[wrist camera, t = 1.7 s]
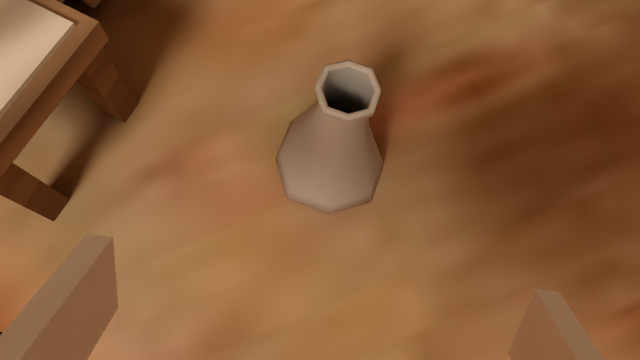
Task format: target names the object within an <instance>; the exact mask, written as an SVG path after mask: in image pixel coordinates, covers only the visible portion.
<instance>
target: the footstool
mask: <svg viewBox="0 0 640 360" xmlns="http://www.w3.org/2000/svg"><path fill="white" fill-rule="evenodd" d="M108 40H109V38H108V36H107V34H106V33H105V31H104V29H103V28H102V26H101V24H100V22H99V21H97V20H95V19H93V18H91V17H89V16H87V15H85V14H83V13H81V12H79V11H77V10H75V9H72V8H70V7H68V6H66V5H64V4H62V3H60V2H58V1H56V0H0V195H2V196H4V197H6V198H8V199H10V200H12V201H14V202H16V203H18V204H20V205H22V206H24V207H26V208H28V209H30V210H32V211H34V212H36V213H38V214H40V215H42V216H44V217H46V218H48V219H50V220H52V221H54V220H55V219H56V217H57V216H58V214H59V213H60V212H61V210H62V209H63V208H64V206H65V205H66V203H67V202H68V201H69V199H68V198H67V197H65V196H63V195H62V194H60V193H59V192H57V191H56V190H54V189H52V188H51V187H49V186H48V185H46V184H45V183H43V182H42V181H40V180H38V179H37V178H35V177H34V176H32V175H31V174H29V173H27V172H26V171H24V170H23V169H21V168H20V167H18V166H17V165H15V164H13V163H12V162H13V161H14V160H15V158H16V157H17V156H18V155H19V153H20V152H21V151H22V149H23V148H24V147H25V146H26V144H27V143H28V142H29V141H30V139H31V138H32V137H33V135H34V134H35V133H36V132H37V130H38V129H39V128H40V127H41V125H42V124H43V123H44V121H45V120H46V119H47V118H48V116H49V115H50V114H51V113H52V111H53V110H54V109H55V107H56V106H57V105H58V104H59V102H60V101H61V100H62V99H63V97H64V96H65V95H66V93H67V92H68V91H69V90H70V88H71V87H72V86H73V85H74V83H75V82H76V81H77V80H78V81H79V82H80V84H81V85H82V86H83V87H84V89H85V90H86V91H87V92H88V94H89V95H90V96H91V97H92V99H93V100H94V101H95V102H96V103H97V105H98V106H99V107H100V108H101V110H102V111H103V112H104V113H106V114H108V115H110V116H111V117H113V118H115V119H117V120H119V121H121V122H123V123H125V121H126V120H127V119H128V117H129V116H130V114H131V113H132V112H133V110H134V109H135V107H136V106H137V105H138V104H137V102H136V100H135V99H134V97H133V96H132V94H131V92H130V91H129V89H128V88H127V86H126V84H125V83H124V81H123V80H122V78H121V77H120V75H119V73H118V72H117V70H116V69H115V67H114V65H113V64H112V62H111V61H110V59H109V57H108V56H107V54H106V53H105V51H104V49H103V46H104V45H105V44H106V43H107V41H108Z"/></svg>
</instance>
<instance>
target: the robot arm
mask: <svg viewBox="0 0 640 360" xmlns="http://www.w3.org/2000/svg"><path fill="white" fill-rule="evenodd" d="M117 308H118V300H117V287H116V273H115V260H114V246H113V237H107V236H99V235H91V234H87V235H86V236H85V237H84V238H83V240H82V241H81V242H80V243H79V244H78V245H77V247H76V248H75V249H74V250H73V251H72V252H71V254H70V255H69V256H68V257H67V258H66V259H65V261H64V262H63V263H62V264H61V265H60V266H59V268H58V269H57V270H56V271H55V272H54V273H53V275H52V276H51V277H50V278H49V279H48V280H47V282H46V283H45V284H44V285H43V286H42V287H41V289H40V290H39V291H38V292H37V293H36V294H35V296H34V297H33V298H32V299H31V300H30V301H29V303H28V304H27V305H26V306H25V307H24V308H23V310H22V311H21V312H20V313H19V314H18V315H17V317H16V318H15V319H14V320H13V321H12V322H11V324H10V325H9V326H8V327H7V328H6V329H5V331H4V332H0V360H87V359H88V357H89V355H90V354H91V352H92V350H93V348H94V347H95V345H96V343H97V342H98V340H99V338H100V337H101V335H102V333H103V332H104V330H105V328H106V327H107V325H108V323H109V322H110V320H111V318H112V317H113V315H114V313H115V312H116V310H117ZM509 355H510V357H511V360H604V358H603V357H602V355H601V354H600V352H599V351H598V349H597V348H596V346H595V345H594V343H593V342H592V340H591V339H590V337H589V336H588V334H587V333H586V331H585V330H584V328H583V327H582V325H581V324H580V322H579V321H578V319H577V318H576V316H575V315H574V313H573V312H572V310H571V309H570V307H569V306H568V304H567V303H566V301H565V300H564V298H563V297H562V295H561V294H560V292H559V291H550V290H542V289H535V291H534V293H533V296H532V298H531V300H530V303H529V305H528V308H527V310H526V312H525V315H524V317H523V320H522V322H521V324H520V327H519V329H518V331H517V334H516V336H515V339H514V341H513V343H512V346H511V348H510V351H509Z"/></svg>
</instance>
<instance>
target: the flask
mask: <svg viewBox="0 0 640 360" xmlns="http://www.w3.org/2000/svg"><path fill="white" fill-rule="evenodd" d="M381 92H382V90H381V87H380V85H379V82H378V80H377V77H376V74H375V72H374V69H373V68H371V67H368V66H365V65H362V64H359V63H357V62H354V61H351V60H345V61H341V62H336V63H332V64H328V65H324V66H323V69H322V71H321V74H320V76H319V78H318V81H317V83H316V86H315V93H316V95H317V98H318V103H317V104H315V105H314V106H313V107H311V108H310V109H309V110H308V111H306V112H305V113H304V114H302V115H301V116H299V117H297V118H296V119H294V120H293V121H292V122H291V123H290V125H289V128H288V130H287V133H286V135H285V137H284V140H283V142H282V144H281V147H280V149H279V152H278V154H277V156H276V162H277V165H278V169H279V172H280V175H281V179H282V182H283V185H284V189H285V192H286V195H287V198H288V199H290V200H293V201H296V202H299V203H301V204H304V205H307V206H310V207H312V208H315V209H318V210H321V211H323V212H326V213H333V212H336V211H340V210H343V209H347V208H350V207H354V206H357V205H361V204H365V203H368V202H371V199H372V196H373V193H374V190H375V187H376V184H377V181H378V178H379V175H380V172H381V169H382V166H383V161H382V158H381V156H380V153H379V150H378V147H377V145H376V142H375V139H374V137H373V134H372V131H371V128H370V126H369V117H372V116H373V114H374V111H375V109H376V106H377V103H378V100H379V97H380V95H381Z"/></svg>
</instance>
